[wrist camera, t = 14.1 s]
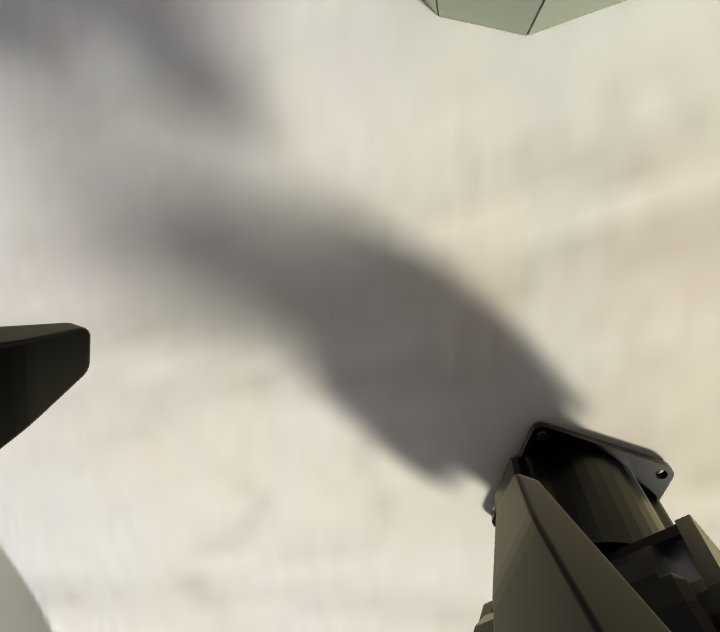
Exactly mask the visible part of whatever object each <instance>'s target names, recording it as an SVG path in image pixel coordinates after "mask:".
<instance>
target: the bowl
mask: <svg viewBox="0 0 720 632" xmlns="http://www.w3.org/2000/svg"><path fill="white" fill-rule="evenodd" d="M424 1H425V2H426V3H427V5H428V6H429V7H430V8H431V9H432V10H433V11H434V12H435V13H436V14H437V15H438V14H439V17H444V18H448V19H453V20H457V21H462V22H467V23H471V24H476V25H480V26H485V27H489V28H494V29H498V30H503V31H507V32H512V33H516V34H521V35H525V36H526V34H527V32H528V35H530V34H533V33H536V32H539V31H542V30H544V29H547V28H550V27H553V26H556V25H558V24H561V23H564V22H567V21H570V20H572V19H575V18H578V17H581V16H584V15H586V14H589V13H592V12H595V11H598V10H600V9H603V8H606V7H609V6H611V5H614V4H617V3H620V2H623V1H625V0H424Z"/></svg>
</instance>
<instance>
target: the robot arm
mask: <svg viewBox="0 0 720 632" xmlns="http://www.w3.org/2000/svg"><path fill="white" fill-rule="evenodd" d="M89 364H90V333H89V331H88V330H87V329H86V328H84V327H81V326H78V325H75V324H72V323H55V324H38V325H21V326H4V327H0V449H1V448H2V447H3V446H5V445H6V444H7V443H9V442H10V441H11V440H12V439H14V438H15V437H16V436H18V435H19V434H20V433H21V432H22V431H24V430H25V429H26V428H27V427H29V426H30V425H31V424H32V423H33V422H34V421H35V420H36V419H38V418H39V417H40V416H41V415H42V414H43V413H44V412H45V411H46V410H47V409H48V408H49V407H50V406H51V405H53V404H54V403H55V402H56V401H57V400H58V399H59V398H60V397H61V396H62V395H63V394H64V393H65V392H66V391H68V390H69V389H70V388H71V387H72V386H73V385H74V384H75V383H76V382H77V381H78V380H79V379H80V378H81V377H83V375H84V374H85V373H86V372H87V370H88V368H89ZM540 431H545V432H547V433H546V434H545V435H543V436H539V435H537V434H538V432H540ZM659 470H664V471H663V472H662V473H660V474H656V472H657V471H659ZM673 476H674V473H673V470H672V469H671V467H670V466H669V465H668V463H666V462H665V461H662V460H659V459H656V458H653V457H650V456H647V455H644V454H641V453H638V452H634V451H631V450H628V449H625V448H622V447H619V446H616V445H613V444H610V443H607V442H603V441H600V440H597V439H594V438H591V437H588V436H585V435H582V434H579V433H575V432H572V431H569V430H566V429H563V428H560V427H557V426H554V425H551V424H548V423H544V422H539V423H535V424H534V425H533V426H532V427H531V429H530V431H529V433H528V435H527V437H526V440H525V442H524V444H523V446H522V448H521V451H520V453H519V455H518V456H514V457H513V458H511V459H510V461H509V463H508V466H507V468H506V470H505V472H504V475H503V477H502V479H501V481H500V484H499V486H498V488H497V490H496V493H495V495H494V498H495V508H494V510H493V512H492V523H493V525H494V526H495V527H496V528H495V550H494V572H493V601H490V602H488V603H486V604H484V606H483V609H482V613H481V616H480V620H479V622H478V624H477V625H476V626H475V629H474V632H720V550H719V549H718V548H717V547H716V545H715V544H714V543H713V542H712V541H711V539H710V538H709V537H708V536H707V535H706V533H705V532H704V531H703V530H702V529H701V527H700V526H699V525H698V524H697V523H696V521H695V520H694V519H693V518H692V517H691V515H690V514H689V515H687V516H685V517H682V518H680V519H678V520H675V523H676V524H675V525H674V524H673V523H672V521H671V519H670V518H669V516H668V514H667V513H666V511H665V509H664V508H663V506H662V504H661V503H660V501H659V500H660V498H661V496H662V495H663V493H664V492H665V490H666V488H667V487H668V485H669V484H670V482H671V480H672V479H673Z"/></svg>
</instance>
